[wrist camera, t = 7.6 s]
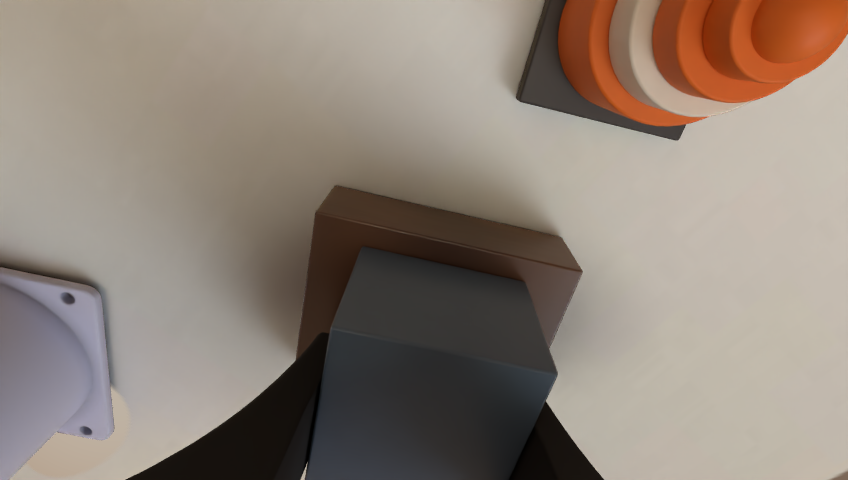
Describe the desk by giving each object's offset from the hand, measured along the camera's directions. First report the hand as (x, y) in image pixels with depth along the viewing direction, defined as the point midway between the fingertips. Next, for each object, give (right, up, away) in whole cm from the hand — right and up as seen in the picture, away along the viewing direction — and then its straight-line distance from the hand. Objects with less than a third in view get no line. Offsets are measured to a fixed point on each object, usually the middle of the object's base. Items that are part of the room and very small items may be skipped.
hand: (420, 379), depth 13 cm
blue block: (0, +1, +1) cm, 1 cm away
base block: (0, +2, +4) cm, 4 cm away
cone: (+6, +10, -1) cm, 12 cm away
